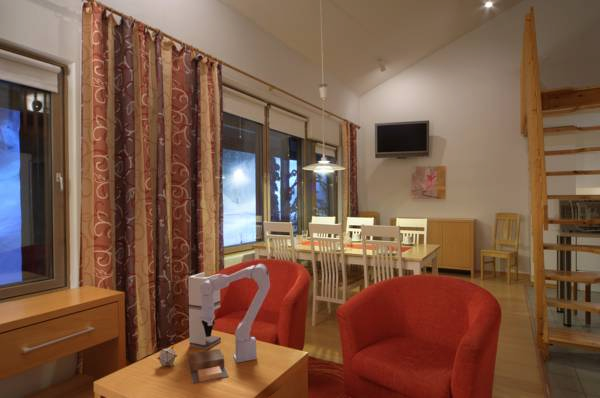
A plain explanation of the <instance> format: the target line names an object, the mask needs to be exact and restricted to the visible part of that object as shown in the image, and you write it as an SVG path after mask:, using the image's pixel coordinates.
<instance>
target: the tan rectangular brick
mask: <svg viewBox="0 0 600 398" xmlns="http://www.w3.org/2000/svg"><path fill="white" fill-rule="evenodd" d="M198 377H199V381H205V380H210V379H215V378H220V377H222V371H221V369H220V366H218V367H212V368H207V369H202V370H198Z"/></svg>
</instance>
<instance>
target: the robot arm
mask: <svg viewBox="0 0 600 398" xmlns="http://www.w3.org/2000/svg"><path fill="white" fill-rule="evenodd" d="M269 271H270V270H268V268H267V266H266V264H263V263H257V264H256V265H254V264H253V265H250V266H248V267H245V268H243V269H240V270H238V271H236V272H234V273H231V274H229V275H228V274H227V275H226V274H222V273H219V274H220V275H218V277H216V278H213V279H209V280H207V281H205V282H204V283H203V284H202V285H201V286H200V292H201V312H202V316H201V317H199V320H201V319H202V321H201V322H202V324H203V326H204V330H205V335H206V337H210V336H211V335H212V332H213V328H214V326H215V318H216V317H215V316H216V315H215V310H214V291H217V290H219V289H220V290H222V289H224V288H226V287H229V286H230V283H232V282H235V281H238V280H241V279H244V278H247V279H250V280H251V279H253V280H254V282H255V283H256V284H257V286H258V290H257V291H256V293H255V296H254V297H253V299H252V302H251V304H250V306H249V307H248V310H247V312H246V314H245V315H244V318H243V319H242V321H240V322H239V323H238V324H237V328H236V329H235V332H234V339H235V340H234V341H235V346H234V347H235V354H233V359H234V360H235V362H236V363H242V362H247V361H252V360H253V361H254V360H257V359H258V357H257V356H258V355H257V340H256V337H255V336H251V334H250V332H251V330H252V325H253V323H254V321H255V319H256V317H257V314H258V313H259V311H260V308H261V307H262V305H263V303H264V300H265V299H266V297H267V294H268V293H269V290H270V288H271V283H270V272H269Z"/></svg>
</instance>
